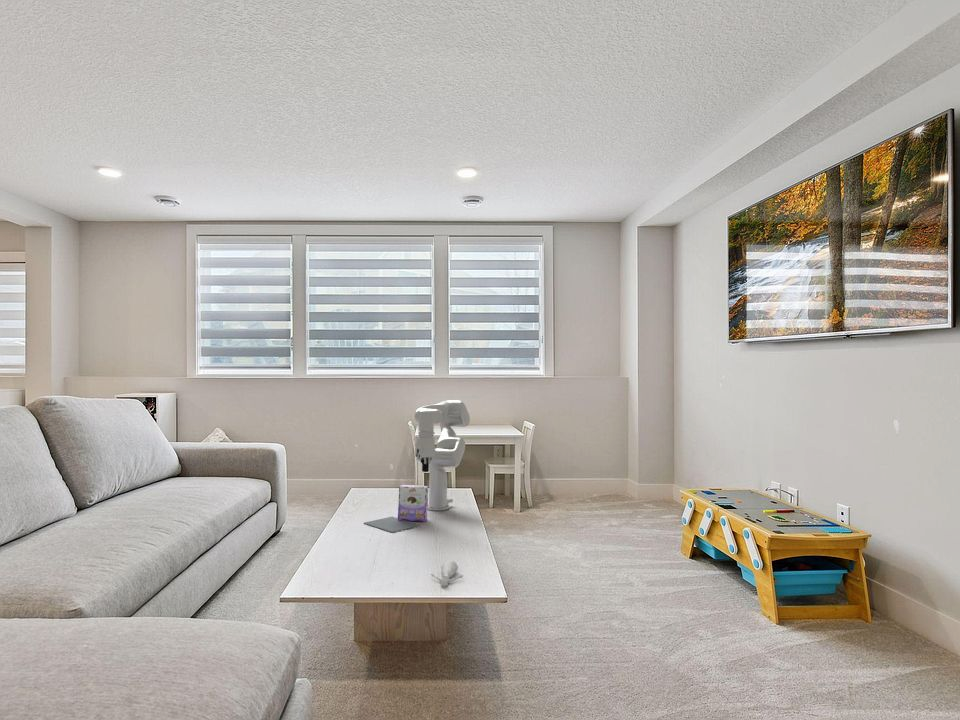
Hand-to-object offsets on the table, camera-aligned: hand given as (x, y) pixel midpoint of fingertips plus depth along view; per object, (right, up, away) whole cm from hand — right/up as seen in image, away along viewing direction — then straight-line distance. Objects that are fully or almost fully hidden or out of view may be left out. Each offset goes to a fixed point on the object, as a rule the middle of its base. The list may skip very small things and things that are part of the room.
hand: (425, 471), depth 294 cm
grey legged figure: (+16, -22, -85) cm, 89 cm away
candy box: (-6, -23, -6) cm, 24 cm away
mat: (-14, -23, -15) cm, 31 cm away
